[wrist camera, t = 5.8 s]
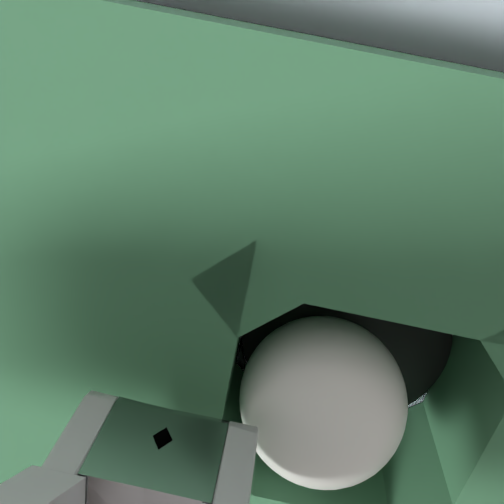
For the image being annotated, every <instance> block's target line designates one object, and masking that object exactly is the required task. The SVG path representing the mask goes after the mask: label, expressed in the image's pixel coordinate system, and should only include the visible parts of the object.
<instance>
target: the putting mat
mask: <svg viewBox="0 0 504 504" xmlns="http://www.w3.org/2000/svg"><path fill="white" fill-rule="evenodd" d="M309 316H331V317H337V318H341V319H345V320H348V321H350V322H353V323H355V324H357V325H359V326H361V327H363V328H364V329H366V330H368V331H369V332H370V333H372V334H373V335H374V336H375V337H377V338H378V339H379V340H380V341H381V342H382V343H383V344H384V345H385V347H386V348H387V349H388V350H389V351H390V353H391V354H392V356H393V357H394V359H395V360H396V362H397V364H398V366H399V368H400V371H401V373H402V376H403V379H404V382H405V386H406V391H407V398H408V405H409V404H410V403H412V402H414V401H415V400H417V399H418V398H419V397H420V396H422V395H423V394H424V393H425V392H426V391H427V390H428V389H429V390H428V392H427V394H426V396H425V399H424V401H423V402H422V403H420V404H417V405H415V406H412V407H410V408H408V416H407V422H406V427H405V431H404V434H403V437H402V440H401V442H400V444H399V446H398V448H397V450H396V452H395V453H394V455H393V456H392V457H391V459H390V460H389V461H388V463H387V464H386V465H385V466H384V467H383V468H382V469H381V470H379V471H378V472H377V473H376V474H375V475H373V476H372V477H370V478H369V479H367V480H365V481H363V482H361V483H359V484H357V485H354V486H352V487H347V488H342V489H337V490H318V489H310V488H307V487H304V486H300V485H297V484H295V483H293V482H291V481H289V480H287V479H285V478H283V477H281V476H280V475H279V474H277V473H276V472H275V471H273V470H272V469H271V468H270V467H269V466H268V465H267V464H266V463H265V462H264V461H263V460H262V459H261V458H260V457H259V455H258V454H257V452H256V456H255V464H254V471H253V479H252V487H251V495H250V502H249V504H504V72H499V71H494V70H489V69H483V68H478V67H473V66H468V65H463V64H458V63H453V62H448V61H443V60H437V59H432V58H427V57H422V56H417V55H412V54H407V53H402V52H397V51H391V50H386V49H381V48H376V47H371V46H366V45H361V44H356V43H351V42H346V41H340V40H335V39H330V38H325V37H320V36H315V35H310V34H305V33H300V32H294V31H289V30H284V29H279V28H274V27H269V26H264V25H259V24H254V23H248V22H243V21H238V20H233V19H228V18H223V17H218V16H213V15H208V14H202V13H197V12H192V11H187V10H182V9H177V8H172V7H167V6H162V5H156V4H151V3H146V2H141V1H136V0H0V484H1V483H3V482H4V481H6V480H8V479H9V478H11V477H13V476H15V475H16V474H18V473H20V472H21V471H23V470H25V469H26V468H28V467H30V466H31V465H34V466H39V467H41V466H42V465H43V463H44V461H45V460H46V458H47V457H48V455H49V453H50V452H51V450H52V448H53V447H54V445H55V443H56V442H57V440H58V439H59V437H60V435H61V434H62V432H63V430H64V429H65V427H66V425H67V424H68V422H69V421H70V419H71V417H72V416H73V414H74V412H75V411H76V409H77V407H78V406H79V404H80V403H81V401H82V399H83V398H84V396H85V395H86V394H88V393H89V392H90V391H91V390H93V391H97V392H101V393H105V394H109V395H113V396H117V397H123V398H127V399H132V400H136V401H140V402H144V403H148V404H152V405H156V406H160V407H164V408H168V409H172V410H174V409H175V410H180V411H184V412H189V413H194V414H199V415H204V416H209V417H213V418H218V419H223V420H228V421H229V422H230V421H232V422H237V423H242V419H241V413H240V403H239V398H240V385H241V380H242V376H243V373H244V372H243V371H242V369H241V368H240V367H239V366H238V365H237V363H236V362H235V361H236V356H237V351H238V346H239V341H240V336H242V344H243V349H244V354H245V357H246V360H247V363H248V361H249V358H250V357H251V355H252V353H253V352H254V350H255V349H256V348H257V346H258V345H259V344H260V343H261V341H262V340H263V339H264V338H265V337H266V336H268V335H269V334H270V333H271V332H273V331H274V330H275V329H277V328H278V327H280V326H282V325H284V324H286V323H288V322H290V321H293V320H296V319H299V318H303V317H309ZM452 335H453V336H452ZM242 424H243V423H242ZM228 425H229V424H228ZM227 430H228V429H227ZM226 435H227V434H226ZM222 454H223V453H222ZM221 459H222V458H221Z"/></svg>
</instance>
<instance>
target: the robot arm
mask: <svg viewBox="0 0 504 504" xmlns="http://www.w3.org/2000/svg"><path fill="white" fill-rule="evenodd" d="M228 424H229V425H228ZM227 429H228V430H227ZM258 433H259V431H258V427H256V426H251V425H247V424H242V423H237V422H232V421H230V422H229V421H228V420H223V419H218V418H213V417H209V416H204V415H199V414H194V413H189V412H184V411H180V410H175V409H174V410H172V409H168V408H164V407H160V406H156V405H152V404H148V403H144V402H140V401H136V400H132V399H127V398H123V397H117V396H113V395H109V394H105V393H101V392H97V391H93V390H91V391H90V392H89V393H88V394H86V395H85V396H84V398H83V399H82V401H81V403H80V404H79V406H78V407H77V409H76V411H75V412H74V414H73V416H72V417H71V419H70V421H69V422H68V424H67V425H66V427H65V429H64V430H63V432H62V434H61V435H60V437H59V439H58V440H57V442H56V443H55V445H54V447H53V448H52V450H51V452H50V453H49V455H48V457H47V458H46V460H45V461H44V463H43V465H42V466H41V467H39V466H34V465H31V466H30V467H28V468H26V469H25V470H23V471H21V472H20V473H18V474H16V475H15V476H13V477H11V478H9V479H8V480H6V481H4V482H3V483H1V484H0V504H249V502H250V495H251V487H252V479H253V471H254V464H255V456H256V448H257V441H258ZM226 434H227V435H226ZM222 453H223V454H222ZM221 458H222V459H221Z"/></svg>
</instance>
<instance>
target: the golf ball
mask: <svg viewBox="0 0 504 504" xmlns="http://www.w3.org/2000/svg"><path fill="white" fill-rule="evenodd" d="M239 403H240V413H241V419H242V423H243V424H247V425H251V426H256V427H258V431H259V433H258V441H257V448H256V452H257V454H258V455H259V457H260V458H261V459H262V460H263V461H264V462H265V463H266V464H267V465H268V466H269V467H270V468H271V469H272V470H273V471H275V472H276V473H277V474H279V475H280V476H281V477H283V478H285V479H287V480H289V481H291V482H293V483H295V484H297V485H300V486H304V487H307V488H310V489H318V490H337V489H342V488H347V487H352V486H354V485H357V484H359V483H361V482H363V481H365V480H367V479H369V478H370V477H372V476H373V475H375V474H376V473H377V472H378V471H379V470H381V469H382V468H383V467H384V466H385V465H386V464H387V463H388V461H389V460H390V459H391V457H392V456H393V455H394V453H395V452H396V450H397V448H398V446H399V444H400V442H401V440H402V437H403V434H404V431H405V427H406V422H407V416H408V398H407V391H406V386H405V382H404V379H403V376H402V373H401V371H400V368H399V366H398V364H397V362H396V360H395V359H394V357H393V356H392V354H391V353H390V351H389V350H388V349H387V348H386V347H385V345H384V344H383V343H382V342H381V341H380V340H379V339H378V338H377V337H375V336H374V335H373V334H372V333H370V332H369V331H368V330H366V329H364V328H363V327H361V326H359V325H357V324H355V323H353V322H350V321H348V320H345V319H341V318H337V317H331V316H309V317H303V318H299V319H296V320H293V321H290V322H288V323H286V324H284V325H282V326H280V327H278V328H277V329H275V330H274V331H273V332H271V333H270V334H269V335H268V336H266V337H265V338H264V339H263V340H262V341H261V343H260V344H259V345H258V346H257V348H256V349H255V350H254V352H253V353H252V355H251V357H250V358H249V361H248V363H247V365H246V367H245V370H244V373H243V376H242V380H241V385H240V398H239Z"/></svg>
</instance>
